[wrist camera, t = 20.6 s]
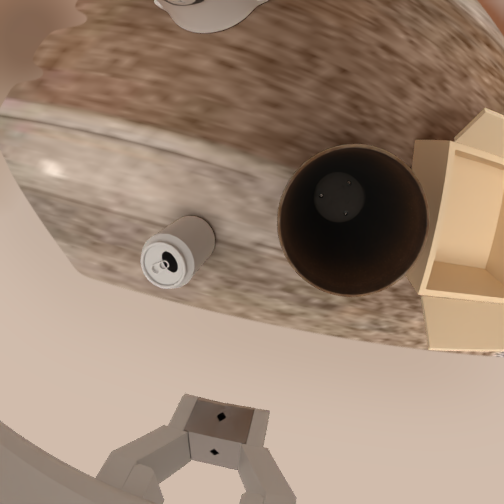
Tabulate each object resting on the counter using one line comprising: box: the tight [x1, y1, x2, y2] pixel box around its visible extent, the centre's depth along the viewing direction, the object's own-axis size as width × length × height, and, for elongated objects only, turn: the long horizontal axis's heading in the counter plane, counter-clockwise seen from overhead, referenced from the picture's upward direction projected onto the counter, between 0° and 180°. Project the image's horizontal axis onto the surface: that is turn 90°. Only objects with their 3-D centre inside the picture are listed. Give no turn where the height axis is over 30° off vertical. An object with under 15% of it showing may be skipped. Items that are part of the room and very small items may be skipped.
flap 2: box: [421, 296, 504, 351], centre depth 30 cm, size 7×17×1 cm
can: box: [140, 216, 215, 289], centre depth 43 cm, size 8×8×12 cm
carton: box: [406, 140, 504, 304], centre depth 34 cm, size 18×18×12 cm
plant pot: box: [277, 144, 430, 297], centre depth 35 cm, size 15×15×16 cm
